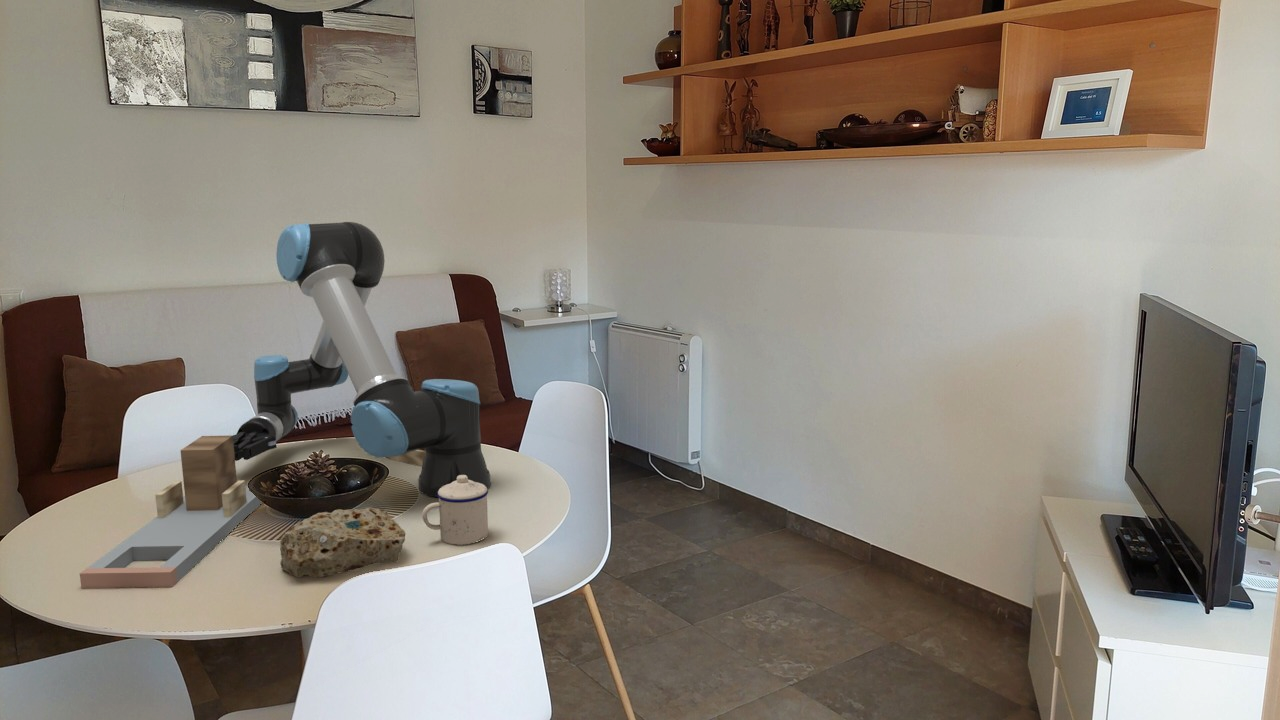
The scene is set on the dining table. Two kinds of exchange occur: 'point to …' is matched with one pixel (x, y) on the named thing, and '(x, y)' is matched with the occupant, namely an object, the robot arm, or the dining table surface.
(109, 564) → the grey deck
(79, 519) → the dining table surface
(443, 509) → the teacup with lid
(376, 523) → the rock
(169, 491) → the beech tunnel walls
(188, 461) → the walnut block
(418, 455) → the oak coaster frame
